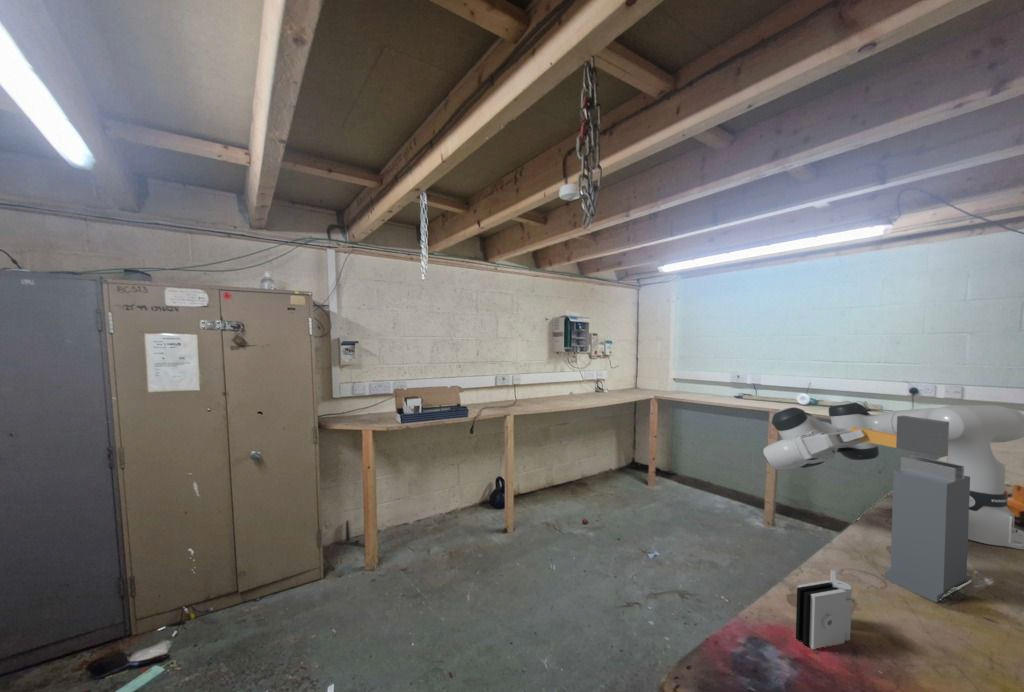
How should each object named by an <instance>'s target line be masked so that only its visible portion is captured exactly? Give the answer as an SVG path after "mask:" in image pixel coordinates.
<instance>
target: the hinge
mask: <svg viewBox="0 0 1024 692" xmlns="http://www.w3.org/2000/svg"><path fill="white" fill-rule="evenodd" d="M829 572H830V575H829V579H830V580H829V579H828V580H827V579H826V580H821V581H820V580H819V581H815V582H810V583H808V582H807V583H803V584H798V585H797V588H796V612H795V613H796V616H795V618H796V620H795V621H796V622H795V640H796V639H797V640H796V641H798V640H803V641H802V645H803V644H804V645H805V646H808V647H809V646H810V647H809V648H811V649H812V650H813V649H814V650H817V649H816V648H819V649H821V648H820V647H824V648H827V647H826V646H828V647H833V646H838V645H842V644H845V642H846V641H850V640H851V630H852V629H851V628H852V625H851V624H852V602H853V601H852V590H853V589H852V588H853V587H852V586H851V585H850V584H849V583H847V582H845V581H842V580H839V579H837V575H836V574H837V571H836V570H834V569H830V571H829ZM804 645H803V646H804ZM832 645H833V646H832ZM805 646H804V647H805Z"/></svg>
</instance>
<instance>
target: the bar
mask: <svg viewBox="0 0 1024 692" xmlns="http://www.w3.org/2000/svg"><path fill="white" fill-rule="evenodd" d="M858 430H864V431H865V433H866V434H867V436H865V437H861V438H858V439H854V440H859V441H864V442H869V443H874V444H876V445H879V446H886V447H889V448H896V449H900V450H905V451H909V452H915V453H918V454H919V453H920V454H924V455H930V456H934V457H939V458H946V456H948V437H949V422H946V421H939V420H932V419H925V418H917V417H910V416H897V434H894V433H888V432H883V431H877V430H871V429H866V428H860V427H853V428H851V432H855V431H858Z"/></svg>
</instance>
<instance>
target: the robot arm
mask: <svg viewBox="0 0 1024 692" xmlns="http://www.w3.org/2000/svg"><path fill="white" fill-rule="evenodd" d="M870 412H872V410H871V409H870V408H867V407H865V406H864V405H862V404H861V403H858V402H852V401H847V400H845V401H840V402H836V403H834V404H832V405H830V406H829V407H828V416H829V417H830V422H831V423H829V422H826V421H821V420H819V419H818V418H816V417H815V416H814V415H812V414H810V413H809V412H806V411H805V410H804V409H802V408H798V407H793V406H792V407H787V408H782V409H780V410H778V411H777V412H775V413H774V414H773V415H772V418H771V424H772V425H773V427H774V428H775V429H776V431H777V432H778V434H779V435H780V437H781V439H780V440H778V441H775V442H773V443H769V444H768V445H766V446H765V447H763V450H762V451H763V456H764V459H765V461H766V462H767V463H768V465H769V466H770V467H771V468H772V469H773V470H777V471H779V470H790V469H796V468H801V469H806V468H810V467H815V466H819V465H822V464H823V463H825V462H826V461H830V460H833V459H834V458H835V454H836V453H840V454H841V455H842V456H843V457H845V458H846V459H849V460H852V461H858V462H868V461H871V460H873V459H876V458H877V457H879V454H880V451H879V446H878V444H874V443H869V442H864V441H859V440H854V439H858V438H861V437H865V436H867V434H866V433H865V431H864V430H858V431H855V432H851V428H853V427H860V428H866V429H871V430H877V431H883V432H888V433H894V434H897V416H910V417H917V418H925V419H932V420H939V421H946V422H949V437H948V456H945V458H946V462H948V463H952V464H957V465H962V466H964V476H968V477H970V496H969V523H968V541H973V542H977V543H981V544H986V545H992V546H997V547H998V546H999V547H1007V548H1010V549H1011V548H1013V549H1015V550H1016V549H1017V550H1024V530H1022V529H1018V528H1017V527H1015V514H1014V513H1013V512H1012V511H1011V510H1010V508H1009V507H1008V495H1009V494H1008V493H1009V492H1008V490H1005V483H1006V482H1005V481H1006V467H1005V465H1004V464H1003V463H1002V462H1001V461H999V459H997V458H996V456H995V455H994V453H993V449H992V446H991V444H992V443H1006V442H1011V441H1016V440H1018V439H1023V438H1024V414H1023V413H1022V412H1021V411H1019V410H1016V409H1015V408H1010V407H1006V406H1001V405H991V404H989V405H987V404H986V405H984V404H983V405H982V404H972V405H971V404H962V405H961V404H959V405H958V404H956V405H955V404H952V405H945V406H941V407H933V408H932V407H930V408H928V407H927V408H913V409H903V410H892V411H887V412H882V413H876V414H871V413H870Z"/></svg>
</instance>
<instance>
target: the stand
mask: <svg viewBox="0 0 1024 692" xmlns="http://www.w3.org/2000/svg"><path fill="white" fill-rule="evenodd" d="M892 480H893V481H892V508H891V509H892V510H891V511H892V512H891V513H892V515H891V540H890V541H891V542H890V543H891V544H890V545H891V546H890V569H889V570H887V571H884V572H883V579H884V580H886V581H888V582H890V583H892V584H895V585H897V586H899V587H901V588H904V589H906V590H908V591H910V592H913V593H914V594H917V595H919V596H921V597H924V598H925V599H928V600H930V601H932V602H933V603H934V602H935V603H939V602H941V600H940V599H941V598H942V596H943V595H944V594H945V593H947V592H948V591H949V590H950V589H951V588H953V587H958V586H960V585H962V584H964V583H966V582H968V581H969V580H971V579H972V580H973V576H972V575H969V574H968V548H969V546H968V545H969V539H968V523H969V496H970V477H968V476H964V466H962V465H957V464H952V463H948V462H947V461H943V460H937V459H933V458H932V459H931V458H927V457H923V456H919V455H918V456H917V455H913V454H909V457H905V456H900V469H896V470H894V471H893V479H892Z"/></svg>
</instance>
